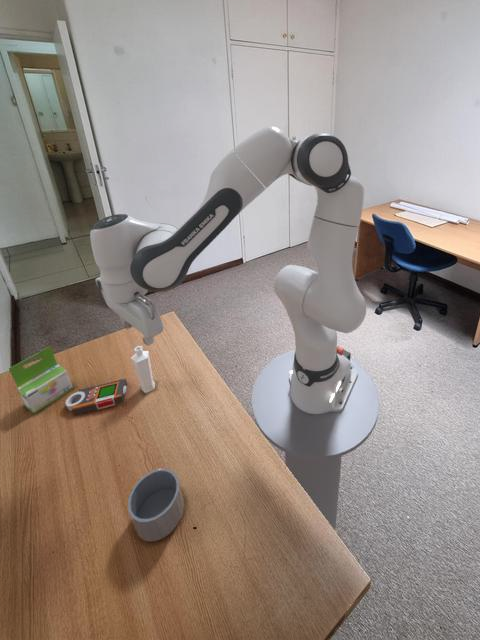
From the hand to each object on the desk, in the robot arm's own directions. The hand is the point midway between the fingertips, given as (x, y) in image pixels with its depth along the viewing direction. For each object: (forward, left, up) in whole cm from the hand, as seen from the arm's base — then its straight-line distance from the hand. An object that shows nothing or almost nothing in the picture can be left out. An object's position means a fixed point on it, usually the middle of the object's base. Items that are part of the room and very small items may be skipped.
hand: (138, 334), depth 78 cm
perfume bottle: (-2, -9, -27) cm, 28 cm away
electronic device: (+9, -16, -27) cm, 32 cm away
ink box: (+17, -28, -27) cm, 42 cm away
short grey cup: (+13, +23, -26) cm, 37 cm away
